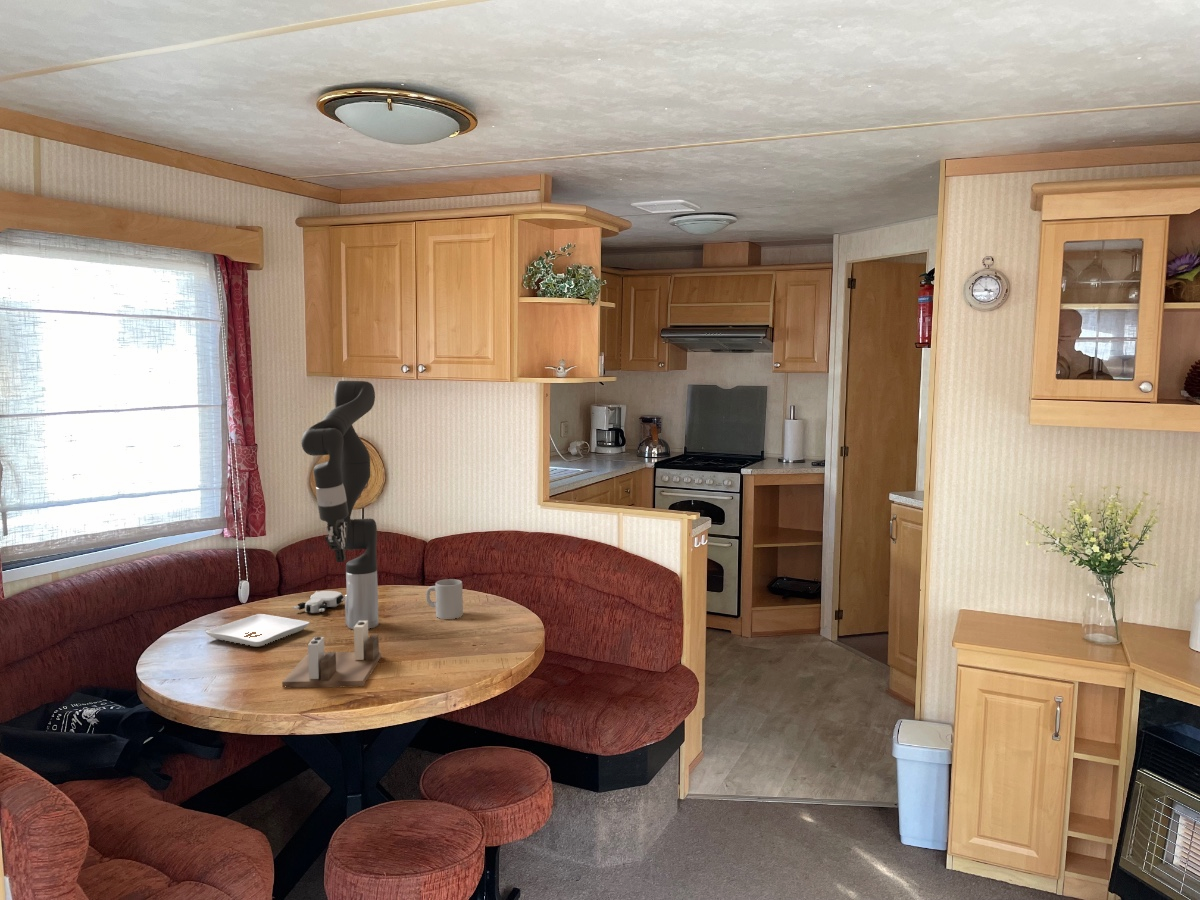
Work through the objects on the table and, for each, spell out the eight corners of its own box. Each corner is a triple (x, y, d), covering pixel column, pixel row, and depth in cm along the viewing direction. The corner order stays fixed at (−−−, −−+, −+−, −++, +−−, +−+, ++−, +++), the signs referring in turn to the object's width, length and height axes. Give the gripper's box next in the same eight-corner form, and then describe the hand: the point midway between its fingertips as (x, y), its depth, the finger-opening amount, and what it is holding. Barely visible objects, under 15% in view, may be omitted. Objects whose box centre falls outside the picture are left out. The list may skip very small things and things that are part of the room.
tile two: (309, 679, 225) (307, 643, 224) (315, 670, 231) (314, 635, 230) (318, 679, 225) (317, 643, 224) (325, 670, 231) (323, 635, 230)
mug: (467, 613, 289) (466, 579, 288) (456, 620, 281) (456, 586, 279) (432, 610, 292) (431, 577, 290) (421, 618, 283) (420, 584, 282)
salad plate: (312, 631, 271) (311, 620, 270) (258, 652, 252) (258, 641, 251) (259, 623, 280) (259, 612, 279) (203, 642, 260) (203, 631, 260)
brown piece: (282, 687, 224) (281, 662, 224) (308, 657, 246) (307, 634, 245) (362, 686, 225) (361, 661, 224) (381, 657, 247) (380, 634, 246)
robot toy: (324, 619, 285) (350, 603, 299) (323, 606, 284) (349, 590, 298) (291, 616, 289) (318, 600, 303) (290, 603, 288) (317, 588, 302)
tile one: (354, 660, 239) (353, 626, 238) (360, 652, 245) (359, 619, 244) (363, 659, 240) (362, 626, 239) (368, 652, 245) (367, 619, 244)
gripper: (338, 507, 234) (348, 569, 239) (352, 492, 247) (361, 551, 252) (310, 509, 235) (320, 571, 239) (325, 494, 247) (335, 553, 252)
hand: (341, 561), depth 245 cm, fingers closed
